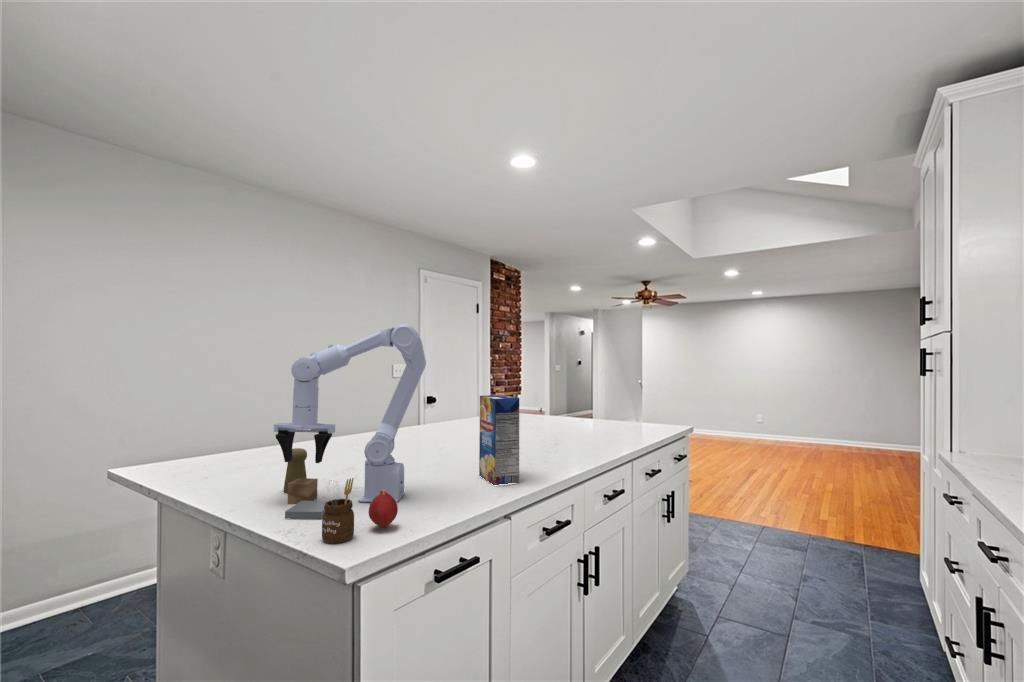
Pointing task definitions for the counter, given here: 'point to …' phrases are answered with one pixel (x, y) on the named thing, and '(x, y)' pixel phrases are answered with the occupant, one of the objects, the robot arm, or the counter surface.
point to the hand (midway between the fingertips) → (303, 461)
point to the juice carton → (499, 439)
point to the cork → (295, 467)
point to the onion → (383, 509)
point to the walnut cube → (302, 490)
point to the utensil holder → (338, 518)
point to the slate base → (306, 510)
